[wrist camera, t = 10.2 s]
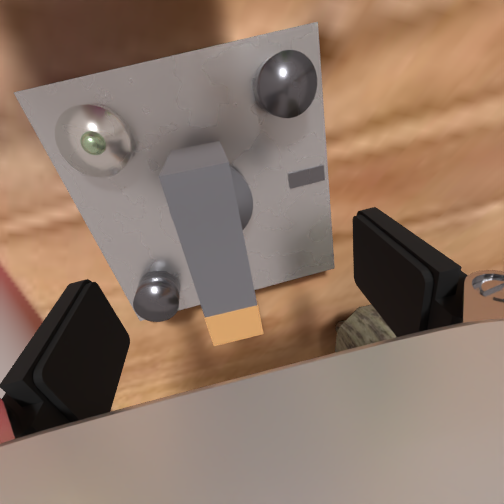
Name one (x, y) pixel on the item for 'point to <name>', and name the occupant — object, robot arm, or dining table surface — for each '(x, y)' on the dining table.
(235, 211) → the knob
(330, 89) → the dining table surface
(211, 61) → the levelling base
